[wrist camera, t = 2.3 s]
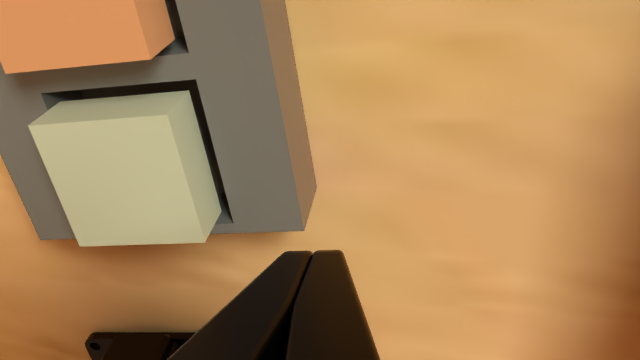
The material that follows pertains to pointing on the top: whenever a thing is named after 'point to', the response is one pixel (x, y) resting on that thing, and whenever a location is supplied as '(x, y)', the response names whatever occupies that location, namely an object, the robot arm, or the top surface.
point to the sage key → (129, 169)
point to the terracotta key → (80, 32)
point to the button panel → (210, 109)
